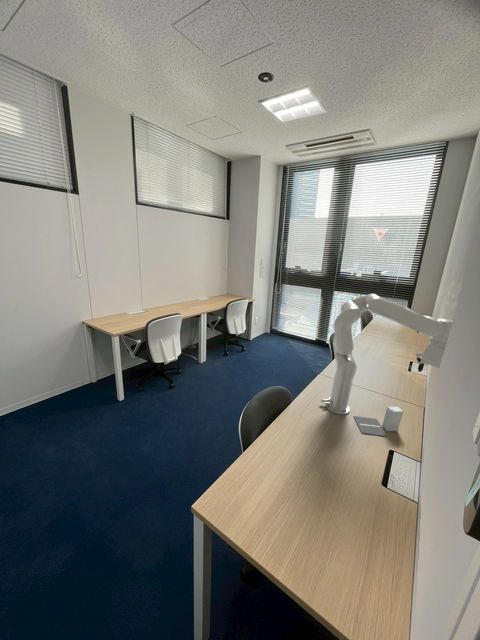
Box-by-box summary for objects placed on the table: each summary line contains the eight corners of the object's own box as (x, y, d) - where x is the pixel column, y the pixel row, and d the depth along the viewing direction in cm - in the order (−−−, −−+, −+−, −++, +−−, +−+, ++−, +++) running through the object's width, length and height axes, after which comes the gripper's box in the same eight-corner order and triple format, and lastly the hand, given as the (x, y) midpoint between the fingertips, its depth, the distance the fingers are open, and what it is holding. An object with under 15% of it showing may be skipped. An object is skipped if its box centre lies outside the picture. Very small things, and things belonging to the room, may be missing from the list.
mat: (361, 433, 129) (361, 432, 128) (353, 416, 141) (353, 415, 141) (386, 436, 128) (387, 435, 127) (376, 419, 140) (376, 418, 140)
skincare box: (392, 425, 136) (398, 405, 132) (398, 431, 132) (404, 411, 128) (381, 425, 135) (386, 405, 132) (386, 432, 131) (392, 411, 127)
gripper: (417, 338, 132) (408, 369, 137) (458, 352, 118) (446, 385, 123) (424, 337, 136) (415, 366, 141) (465, 349, 122) (453, 382, 127)
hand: (430, 375), depth 132 cm, fingers open, 9 cm apart
